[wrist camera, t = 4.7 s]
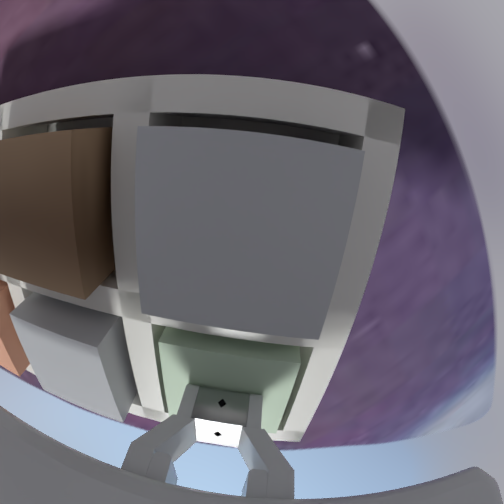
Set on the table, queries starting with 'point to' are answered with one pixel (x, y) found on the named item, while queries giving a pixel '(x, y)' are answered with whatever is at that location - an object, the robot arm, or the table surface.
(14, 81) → the table surface
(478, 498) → the robot arm
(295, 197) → the keypad
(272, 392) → the key sage
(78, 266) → the key walnut
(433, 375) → the table surface
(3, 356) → the key terracotta
